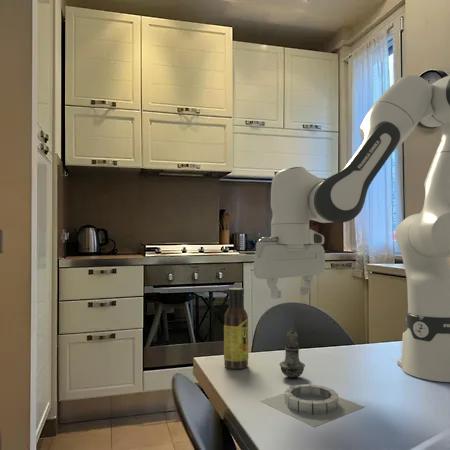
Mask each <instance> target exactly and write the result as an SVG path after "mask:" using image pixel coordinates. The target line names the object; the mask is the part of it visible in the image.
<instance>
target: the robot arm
mask: <svg viewBox="0 0 450 450" xmlns="http://www.w3.org/2000/svg"><path fill="white" fill-rule="evenodd" d="M416 127H418V128H421V129H427V130H430V129H436V128H437V129H438V128H439V127H440V129H441V137H440V142H439V145H438V147H437V149H436V151H435V154H434V156H433V159H432V161H431V163H430V164H431V165H430V167H429V169H428V171H427V175H426V177H425V179H424V184H423V185H424V189H425V193H424V196H425V197H424V201H423V202H424V203H423V206H422V210H421V211H420V213H419V212H418V213H414V214H411V215H409V216H407V217H406V218H404V219H403V220H402V221H401V222H400V223H399V224H398V225H397V226H396V227H397V228H396V230H395V240H396V243H397V244H398V246H399V249H400V253H401V257H402V262H403V267H404V271H405V277H406V283H407V284H406V285H407V286H406V287H407V288H406V289H407V311H406V314H405V322H406V323H405V324H406V327H407V329H406V330H405V331H403V333H402V341H401V358H399V359H397V362H396V364H397V365H398V366H400V367H401V369H402V371H403V372H404V373H405V374H407V375H409V376H412V377H415V378H418V379H424V380H427V381H434V382H443V383H450V262H449V259H448V258H450V74H448V75H446V76H444V77H442V78H439V79H438V80H437V81H435V82H433V83H431V84H430V83H429V82H428V81H427V80H425V79H424V78H423V77H421V76H419V75H418V76H417V75H415V74H414V75H413V74H411V75H405V76H402V77H400V78H399V79H398V80H396V81H395V82H394V83H393V84H392V85H391V86H389V88H388V89H387V90H385V92H383V94H382V95H380V97H379V98H378V99H377V100H376V102H375V103H374V104H373V105H372V106H371V108H370V109H369V110H368V111H367V113H366V115H365V117H364V118H363V120H362V122H361V124H360V127H359V134H360V138H361V140H362V143H361V145H360V146H359V148H358V149H357V150H356V151H355V153H354V154H353V156H352V157H351V159H350V160H349V161H348V162H347V163H346V165H345V166H344V168H343V169H342V170H340V171H338V172H336V173H334V174H333V175H331V176H329V177H328V178H326V179H323V178H320V177H318V176H316V175H314V174H312V173H311V172H310V171H308V170H307V169H306V168H305V167H303V166H295V167H294V166H293V167H287V168H284V169H282V170H279V171H278V172H277V173H275V174H274V176H273V177H272V180H271V187H270V188H271V189H270V208H271V212H272V218H271V222H270V233H271V234H270V236H262V237H260V238H259V239H258V241H257V242H256V243H255V252H254V261H253V275H254V276H255V279H259V280H266V284H267V286H268V288H269V289H270V297H271V298H272V299H275V300H276V299H277V300H278V299H281V298H282V290H280V289H279V288H278V286H277V284H278V283H279V280H278V279H283V278H294V277H295V278H296V277H302V280H303V283H302V286H301V287H299V292H300V293H299V294H300V295H301V296H309V295H310V292H311V286H312V283H313V281H314V276H321V275H323V273H324V272H325V268H326V259H325V257H326V256H325V248H324V246H323V245H324V244H325V236H324V235H323V234H321V233H318V232H317V231H315V230H313V229H312V228H310V221H315V222H318V223H323V224H326V223H330V224H331V223H340V224H341V223H348V222H349V221H352V220H353V219H355V218H356V217H357V216H359V214H360V213H361V212H362V210H363V208H364V205H365V201H366V198H367V193H368V190H369V188H370V185H371V184H372V182H373V181H374V179H375V177H377V175H378V173H379V172H380V170H381V169H382V167H383V166H384V165H385V163H386V162H387V161H388V159H389V157H391V155H392V154H393V153H394V152H395V151H396V150H397V149H398V148H399V147H400V146H401V145H402V144H403V143H404V142H405V141H406V140H407V139H408V137H409V136H410V135H411V134H412V132H413V131H414V130H415V128H416Z"/></svg>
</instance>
